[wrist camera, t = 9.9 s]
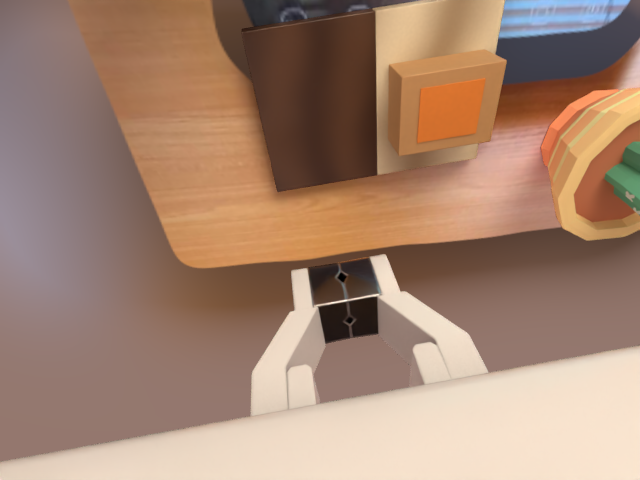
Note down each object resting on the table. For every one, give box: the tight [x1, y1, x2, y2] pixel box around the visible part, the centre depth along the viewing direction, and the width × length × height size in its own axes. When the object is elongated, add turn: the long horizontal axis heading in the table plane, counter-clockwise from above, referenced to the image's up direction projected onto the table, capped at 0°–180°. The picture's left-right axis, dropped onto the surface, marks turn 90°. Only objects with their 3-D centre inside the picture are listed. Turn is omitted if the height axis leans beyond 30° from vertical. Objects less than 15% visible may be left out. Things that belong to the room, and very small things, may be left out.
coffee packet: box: [388, 49, 507, 156], centre depth 30 cm, size 8×6×4 cm
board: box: [241, 0, 505, 192], centre depth 32 cm, size 20×14×1 cm
